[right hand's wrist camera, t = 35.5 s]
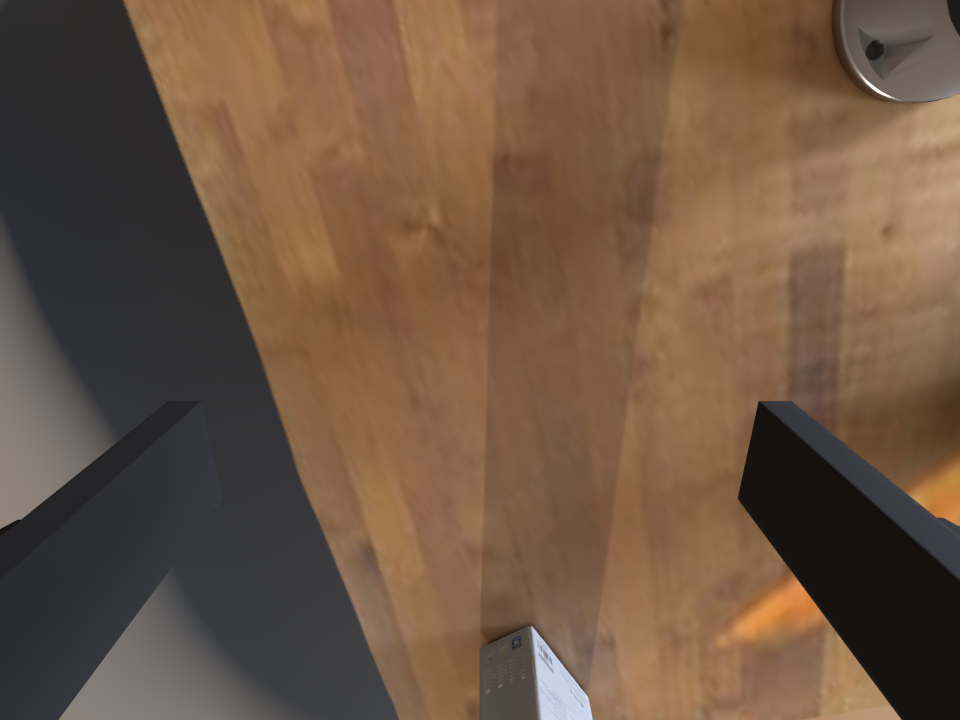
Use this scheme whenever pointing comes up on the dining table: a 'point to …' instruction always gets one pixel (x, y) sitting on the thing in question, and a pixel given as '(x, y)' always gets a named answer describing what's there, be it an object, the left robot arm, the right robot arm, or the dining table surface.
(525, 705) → the hard drive box
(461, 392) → the dining table surface
